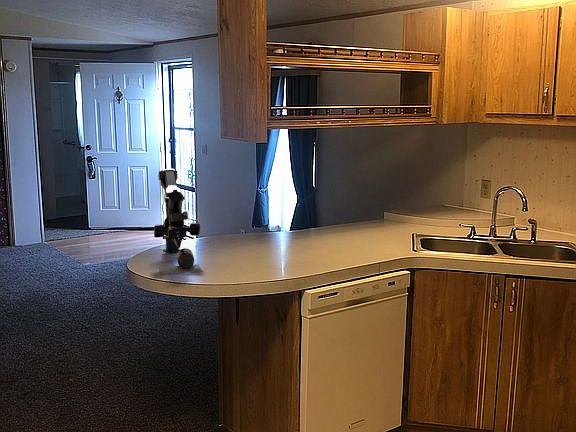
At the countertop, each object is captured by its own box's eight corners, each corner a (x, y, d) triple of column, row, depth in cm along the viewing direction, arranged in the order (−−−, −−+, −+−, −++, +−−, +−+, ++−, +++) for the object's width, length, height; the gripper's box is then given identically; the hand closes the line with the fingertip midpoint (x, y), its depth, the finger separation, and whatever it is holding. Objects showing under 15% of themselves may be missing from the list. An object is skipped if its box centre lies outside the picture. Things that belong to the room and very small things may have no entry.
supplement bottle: (177, 247, 261) (179, 253, 250) (194, 248, 263) (196, 255, 251) (175, 263, 262) (176, 270, 251) (191, 264, 264) (193, 272, 252)
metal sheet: (159, 267, 258) (159, 266, 258) (198, 264, 262) (198, 264, 262) (161, 274, 248) (161, 273, 248) (202, 271, 252) (202, 270, 252)
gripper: (153, 205, 256) (156, 237, 248) (199, 203, 261) (203, 235, 253) (152, 221, 265) (155, 252, 257) (197, 219, 270) (201, 249, 262)
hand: (179, 247), depth 257 cm, fingers closed
